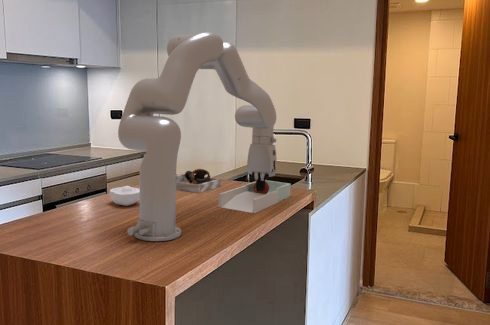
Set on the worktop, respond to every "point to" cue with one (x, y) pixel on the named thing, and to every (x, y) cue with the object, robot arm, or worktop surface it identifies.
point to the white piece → (247, 200)
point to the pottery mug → (197, 176)
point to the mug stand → (196, 188)
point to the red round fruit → (264, 189)
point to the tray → (274, 188)
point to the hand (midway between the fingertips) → (260, 190)
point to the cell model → (125, 195)
